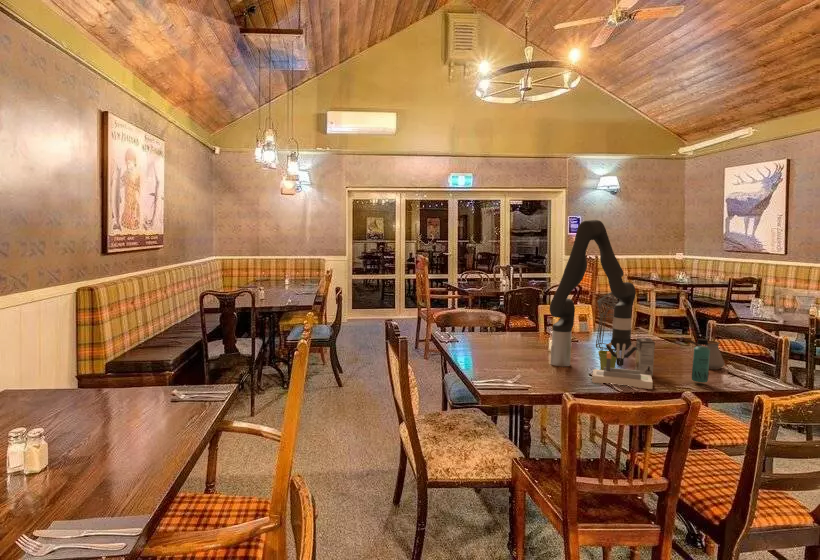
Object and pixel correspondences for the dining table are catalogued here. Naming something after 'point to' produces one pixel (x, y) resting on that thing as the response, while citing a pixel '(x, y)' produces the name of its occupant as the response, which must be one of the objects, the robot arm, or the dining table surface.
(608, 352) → the handle
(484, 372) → the dining table surface
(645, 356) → the coffee box
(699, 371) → the beverage bottle
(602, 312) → the geometric lantern
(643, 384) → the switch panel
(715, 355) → the coffee pot
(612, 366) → the plant pot
